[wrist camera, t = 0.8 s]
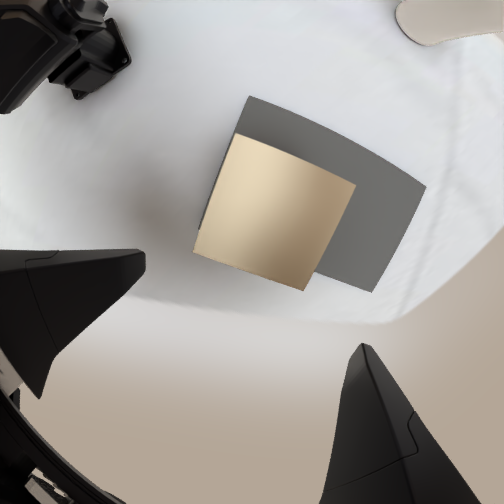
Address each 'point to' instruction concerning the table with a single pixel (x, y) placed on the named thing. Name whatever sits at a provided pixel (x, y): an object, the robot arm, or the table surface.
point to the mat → (361, 202)
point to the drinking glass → (449, 19)
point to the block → (271, 213)
